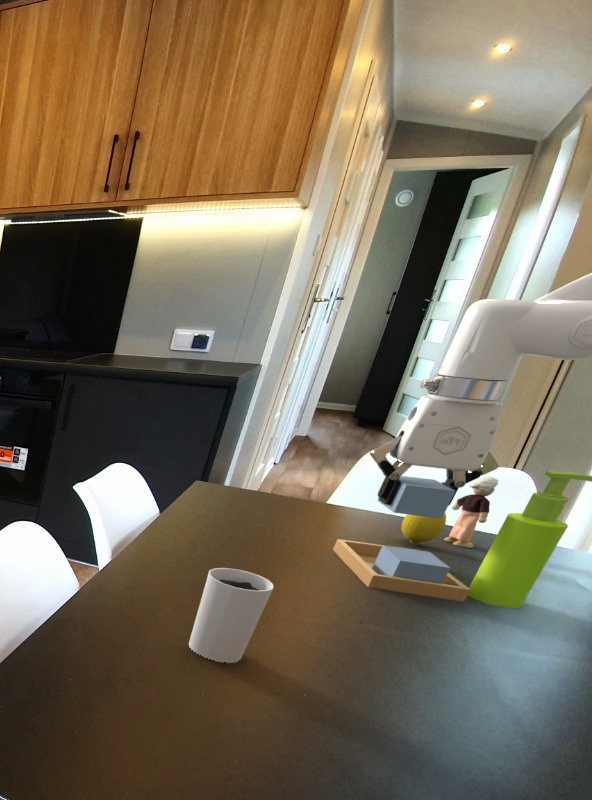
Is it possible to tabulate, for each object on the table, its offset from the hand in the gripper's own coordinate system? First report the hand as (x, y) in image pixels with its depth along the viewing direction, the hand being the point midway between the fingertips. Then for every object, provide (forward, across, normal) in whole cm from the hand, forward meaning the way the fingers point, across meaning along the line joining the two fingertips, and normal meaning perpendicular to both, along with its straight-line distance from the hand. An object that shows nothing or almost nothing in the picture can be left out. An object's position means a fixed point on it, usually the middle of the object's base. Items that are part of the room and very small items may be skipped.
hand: (410, 504), depth 102 cm
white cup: (+12, -31, -45) cm, 55 cm away
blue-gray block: (+1, 0, 0) cm, 1 cm away
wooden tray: (+11, 0, -4) cm, 12 cm away
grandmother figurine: (+11, +18, +22) cm, 31 cm away
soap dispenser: (+11, +11, -9) cm, 18 cm away
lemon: (+11, +10, +17) cm, 23 cm away
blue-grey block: (+11, 0, -8) cm, 13 cm away
